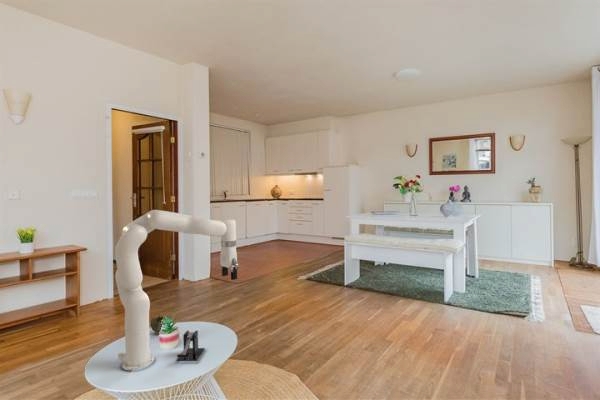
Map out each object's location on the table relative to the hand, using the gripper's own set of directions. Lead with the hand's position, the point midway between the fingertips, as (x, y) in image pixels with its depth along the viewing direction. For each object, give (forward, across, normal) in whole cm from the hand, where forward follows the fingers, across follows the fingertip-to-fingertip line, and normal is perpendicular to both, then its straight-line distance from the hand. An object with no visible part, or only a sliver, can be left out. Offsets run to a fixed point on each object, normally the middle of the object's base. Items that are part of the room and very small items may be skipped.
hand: (229, 277), depth 172 cm
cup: (+30, -27, -28) cm, 49 cm away
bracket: (+30, +8, -24) cm, 39 cm away
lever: (+24, +11, -26) cm, 37 cm away
